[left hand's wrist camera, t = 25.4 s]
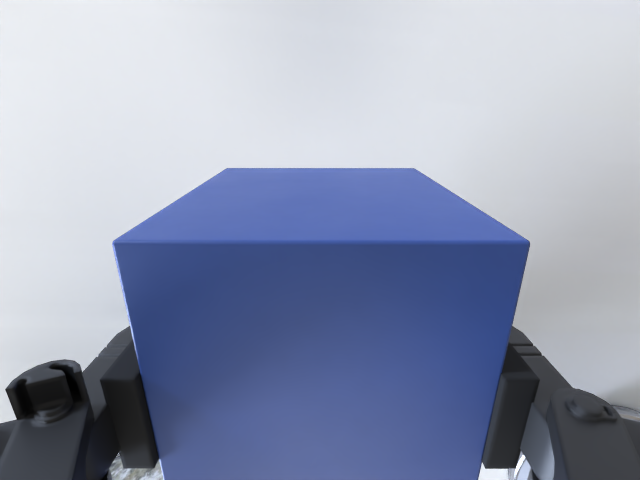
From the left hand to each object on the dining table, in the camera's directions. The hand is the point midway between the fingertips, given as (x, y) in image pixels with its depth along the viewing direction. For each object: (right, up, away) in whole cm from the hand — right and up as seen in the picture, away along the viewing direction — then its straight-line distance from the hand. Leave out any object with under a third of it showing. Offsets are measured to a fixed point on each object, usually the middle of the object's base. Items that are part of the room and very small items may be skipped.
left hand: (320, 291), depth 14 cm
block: (0, +1, +2) cm, 3 cm away
